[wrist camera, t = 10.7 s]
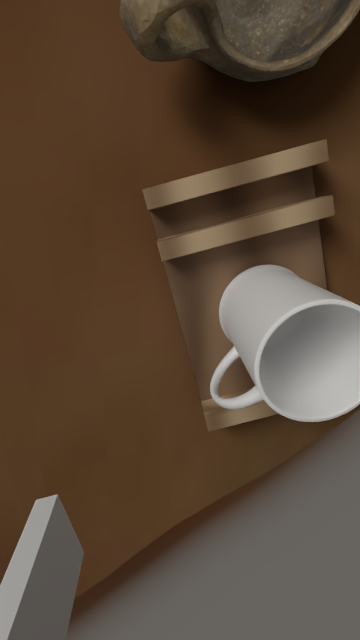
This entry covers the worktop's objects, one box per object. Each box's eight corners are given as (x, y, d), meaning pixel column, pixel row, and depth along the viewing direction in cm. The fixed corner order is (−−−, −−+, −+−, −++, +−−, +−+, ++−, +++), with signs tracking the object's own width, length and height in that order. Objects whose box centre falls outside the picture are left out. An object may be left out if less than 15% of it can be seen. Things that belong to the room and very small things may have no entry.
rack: (203, 407, 36) (208, 431, 32) (145, 192, 29) (142, 189, 25) (332, 374, 35) (354, 394, 31) (303, 149, 29) (326, 138, 25)
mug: (222, 386, 34) (253, 474, 22) (172, 321, 31) (177, 383, 20) (324, 318, 32) (414, 376, 21) (279, 244, 30) (351, 264, 18)
